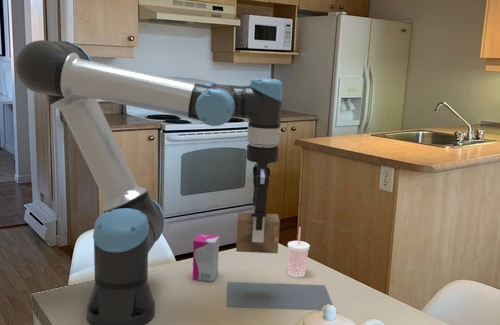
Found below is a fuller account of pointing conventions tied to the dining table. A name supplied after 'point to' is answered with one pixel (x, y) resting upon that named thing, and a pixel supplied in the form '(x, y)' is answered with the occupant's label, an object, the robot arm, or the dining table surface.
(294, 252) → the beverage cup
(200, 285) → the dining table surface
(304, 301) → the slate mat
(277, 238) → the walnut block
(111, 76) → the robot arm
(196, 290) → the dining table surface
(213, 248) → the supplement box
